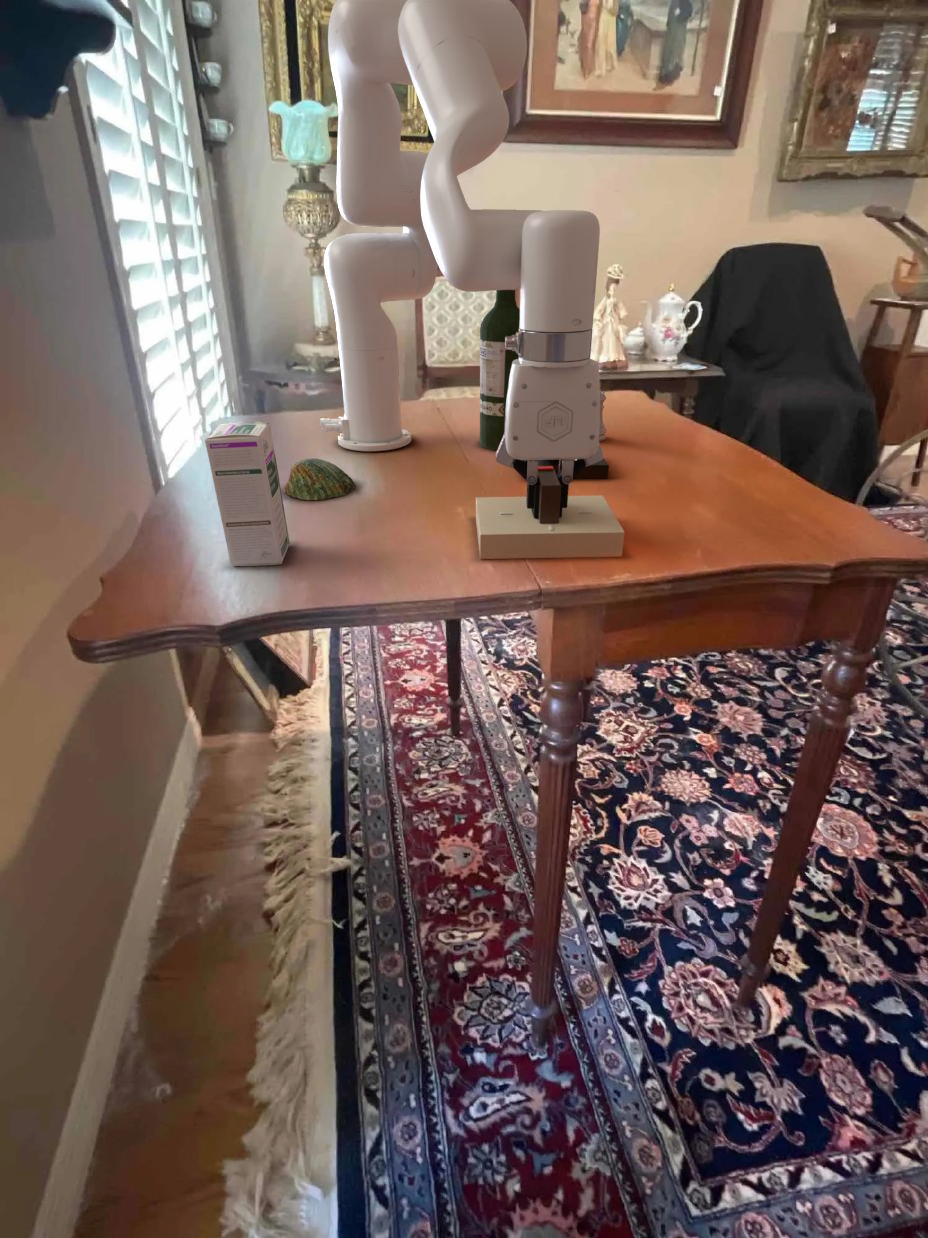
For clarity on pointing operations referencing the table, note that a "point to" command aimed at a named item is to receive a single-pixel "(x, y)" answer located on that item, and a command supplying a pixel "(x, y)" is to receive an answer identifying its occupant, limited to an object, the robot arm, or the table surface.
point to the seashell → (317, 480)
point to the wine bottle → (496, 366)
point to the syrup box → (248, 493)
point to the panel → (547, 529)
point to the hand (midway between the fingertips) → (546, 512)
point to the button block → (589, 472)
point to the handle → (548, 495)
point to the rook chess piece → (602, 428)
